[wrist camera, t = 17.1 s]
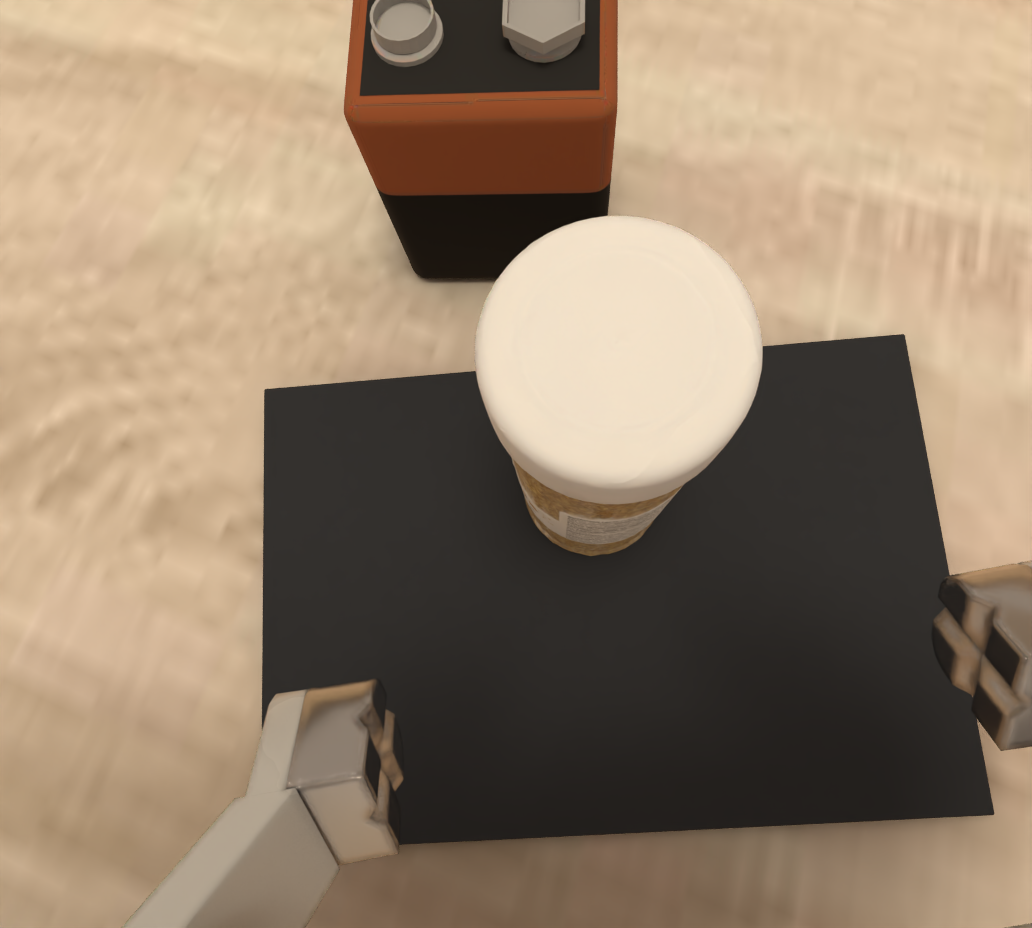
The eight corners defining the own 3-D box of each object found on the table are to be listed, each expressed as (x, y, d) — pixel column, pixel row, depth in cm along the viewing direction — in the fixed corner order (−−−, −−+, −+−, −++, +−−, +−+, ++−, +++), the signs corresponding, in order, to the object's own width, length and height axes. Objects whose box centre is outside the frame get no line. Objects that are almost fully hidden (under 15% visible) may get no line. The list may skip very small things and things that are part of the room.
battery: (602, 282, 26) (621, 83, 17) (414, 283, 27) (325, 91, 17) (603, 173, 27) (621, -78, 18) (421, 176, 28) (339, -66, 18)
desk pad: (265, 848, 23) (260, 851, 23) (268, 392, 26) (263, 388, 26) (987, 811, 22) (995, 815, 22) (899, 338, 25) (904, 333, 25)
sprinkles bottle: (519, 429, 25) (461, 219, 12) (654, 417, 25) (747, 188, 12) (529, 565, 24) (479, 499, 11) (670, 553, 24) (792, 471, 11)
